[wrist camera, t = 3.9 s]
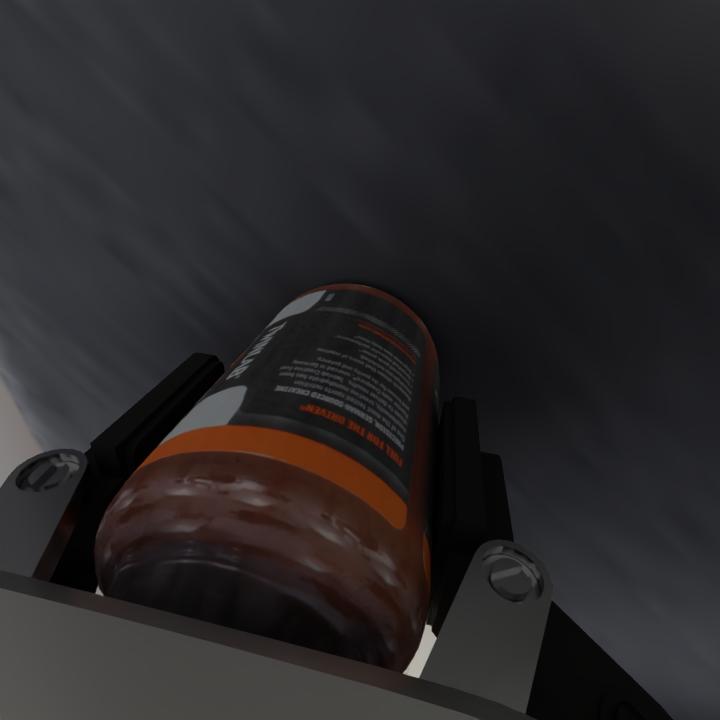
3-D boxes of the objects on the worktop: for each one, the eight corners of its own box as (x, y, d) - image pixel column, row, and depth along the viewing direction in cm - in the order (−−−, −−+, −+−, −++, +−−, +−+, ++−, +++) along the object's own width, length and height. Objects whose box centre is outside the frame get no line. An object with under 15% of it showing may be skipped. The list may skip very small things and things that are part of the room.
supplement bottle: (261, 273, 14) (-215, 636, 4) (447, 279, 13) (441, 798, 3) (281, 420, 16) (38, 843, 7) (434, 436, 15) (409, 960, 6)
